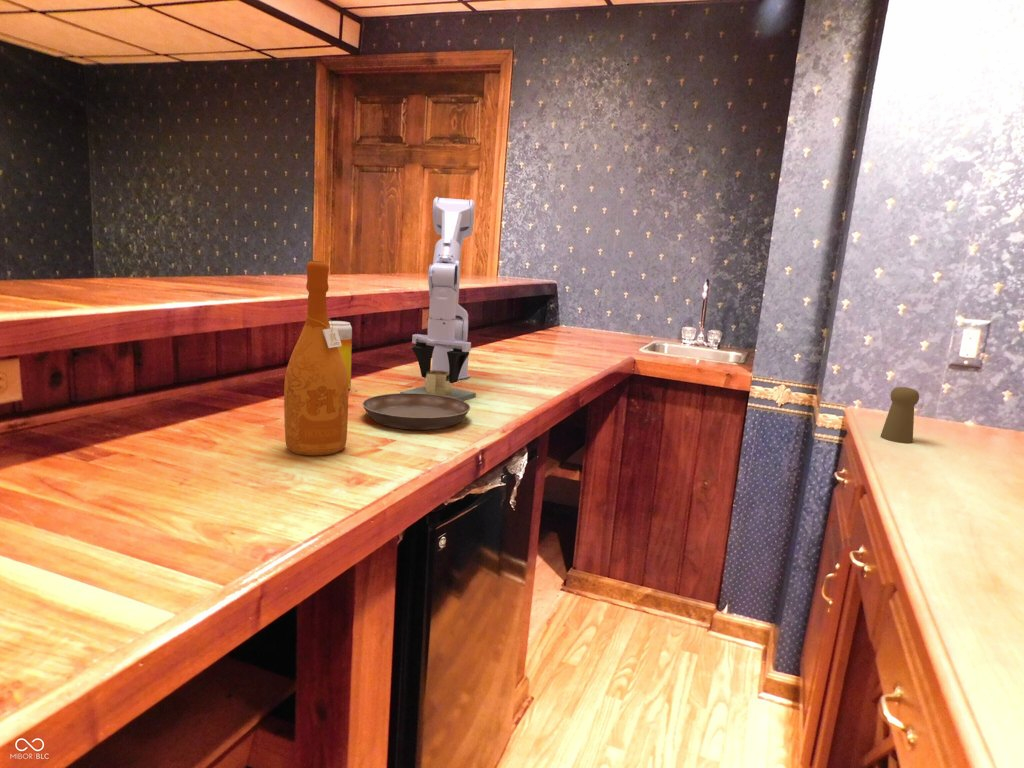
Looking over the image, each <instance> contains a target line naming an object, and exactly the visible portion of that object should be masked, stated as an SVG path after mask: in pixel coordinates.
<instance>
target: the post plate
mask: <svg viewBox="0 0 1024 768" xmlns="http://www.w3.org/2000/svg"><path fill="white" fill-rule="evenodd" d="M400 393H418V394H426V392H425V385H424V386H423V385H422V386H420V387H416V388H411V389H407V390H402V391H400ZM440 396H446V397H451V398H455V399H458V400H461V401H464V402H465V401H467V400H470V399H474V398H476V396H477V393H476V392H473V391H469V390H463V389H459V388H454V387H452V394H449V395H440Z"/></svg>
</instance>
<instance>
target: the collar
mask: <svg viewBox="0 0 1024 768" xmlns="http://www.w3.org/2000/svg"><path fill="white" fill-rule="evenodd" d="M424 382H425V383H424V386H425V392H426V394H431V395H449V394H452V388H453V383H449V371H443V370H432V369H430V371H426V377H425V380H424Z"/></svg>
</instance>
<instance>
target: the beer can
mask: <svg viewBox="0 0 1024 768" xmlns="http://www.w3.org/2000/svg"><path fill="white" fill-rule="evenodd" d="M331 321H332V323H331ZM331 321H330V320H329V324H330V328H332V324H333V328H337V329H338V333H339V337H340V341H341V345H342V346H339V350H340V352H341V355H342V357H343V360H344V363H345V367H346V371H347V376H348V390H349V389H350V388H351V387H352V349H353V347H352V345H353V343H352V342H353V327H352V325H351V322H348V321H343V320H331Z"/></svg>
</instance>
